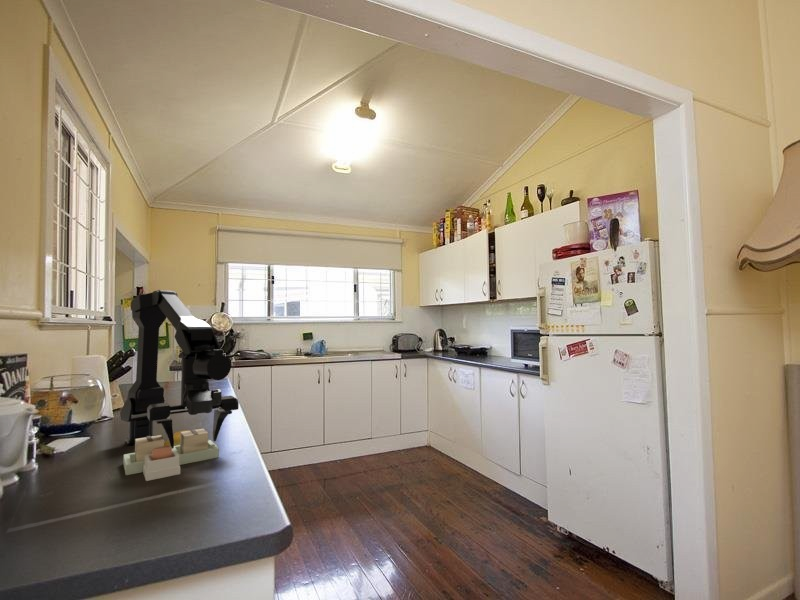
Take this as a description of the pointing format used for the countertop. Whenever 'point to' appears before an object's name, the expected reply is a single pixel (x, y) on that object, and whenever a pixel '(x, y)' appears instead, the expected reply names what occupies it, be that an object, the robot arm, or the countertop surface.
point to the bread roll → (175, 439)
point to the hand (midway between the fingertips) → (193, 444)
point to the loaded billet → (147, 446)
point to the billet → (193, 440)
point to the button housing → (161, 467)
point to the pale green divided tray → (184, 458)
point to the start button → (161, 452)
